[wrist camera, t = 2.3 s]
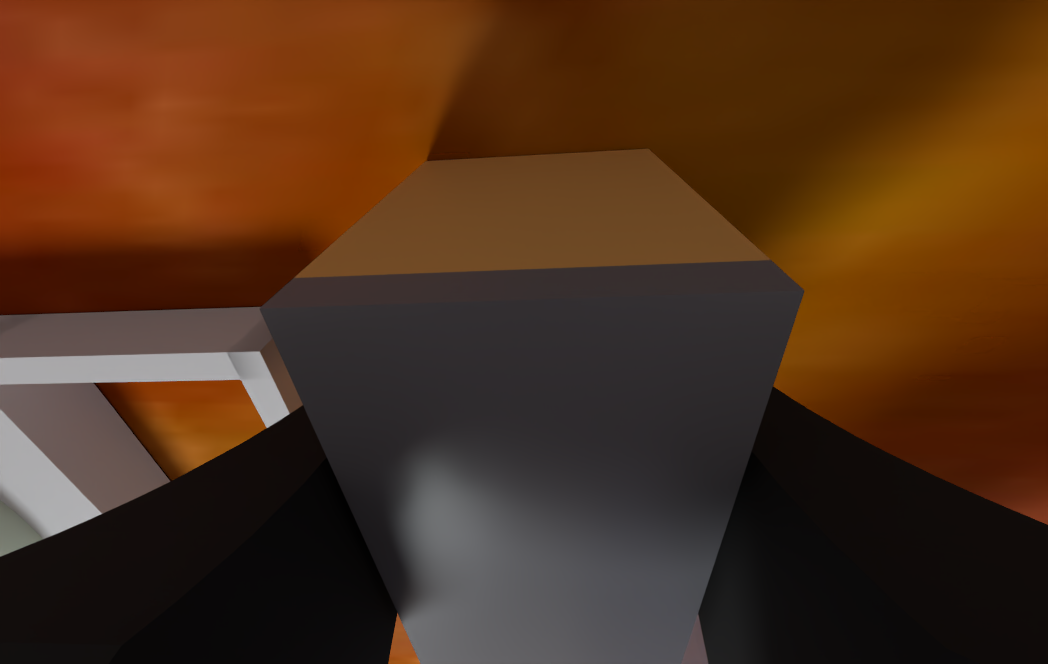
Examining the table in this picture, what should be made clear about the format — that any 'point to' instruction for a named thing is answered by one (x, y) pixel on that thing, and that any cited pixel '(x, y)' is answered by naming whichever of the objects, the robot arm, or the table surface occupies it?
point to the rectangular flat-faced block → (539, 399)
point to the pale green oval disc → (88, 418)
